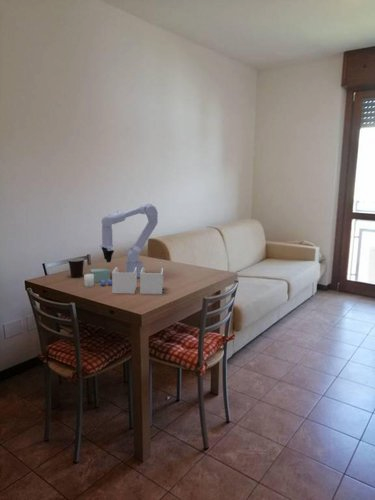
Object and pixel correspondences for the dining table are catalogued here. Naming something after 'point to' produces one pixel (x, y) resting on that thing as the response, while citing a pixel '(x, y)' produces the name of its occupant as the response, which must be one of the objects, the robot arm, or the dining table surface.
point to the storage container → (128, 282)
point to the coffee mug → (76, 267)
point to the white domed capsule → (88, 280)
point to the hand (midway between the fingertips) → (107, 260)
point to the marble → (103, 282)
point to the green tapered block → (100, 274)
